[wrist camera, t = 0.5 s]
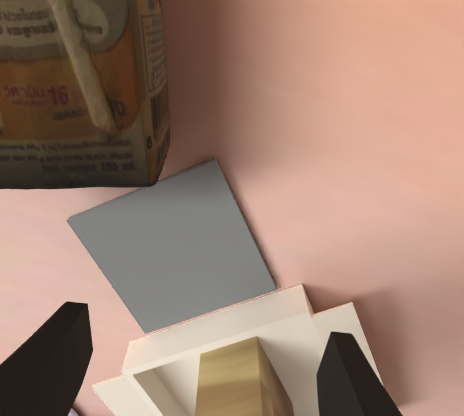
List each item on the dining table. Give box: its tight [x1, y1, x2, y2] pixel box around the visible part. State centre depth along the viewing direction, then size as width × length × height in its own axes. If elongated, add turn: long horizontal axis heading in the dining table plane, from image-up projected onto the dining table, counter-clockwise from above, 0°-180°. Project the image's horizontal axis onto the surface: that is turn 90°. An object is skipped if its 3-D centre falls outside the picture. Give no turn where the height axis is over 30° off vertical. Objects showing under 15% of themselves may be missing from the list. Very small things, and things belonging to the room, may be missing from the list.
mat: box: [67, 158, 277, 334], centre depth 24 cm, size 9×9×1 cm
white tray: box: [92, 284, 383, 416], centre depth 27 cm, size 17×12×2 cm
